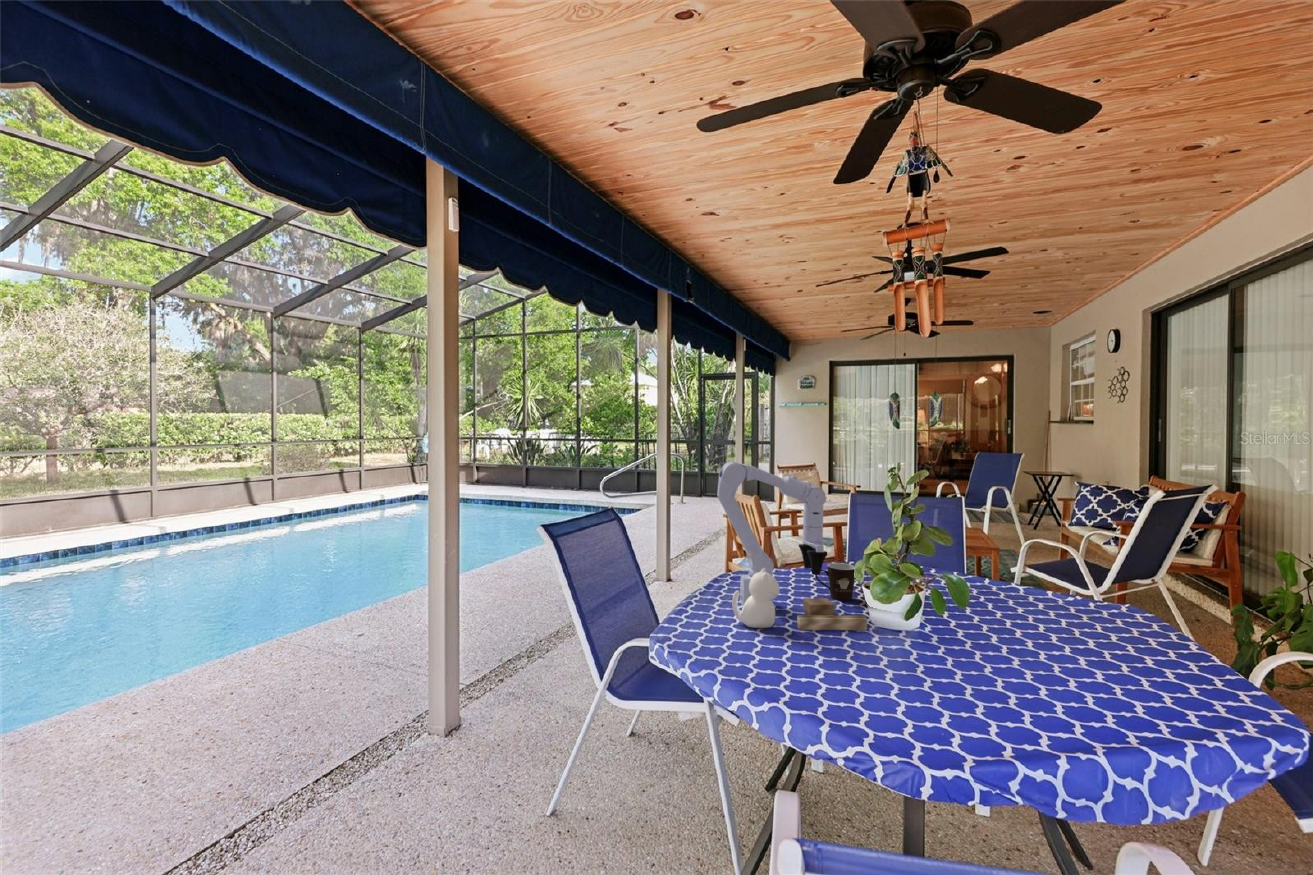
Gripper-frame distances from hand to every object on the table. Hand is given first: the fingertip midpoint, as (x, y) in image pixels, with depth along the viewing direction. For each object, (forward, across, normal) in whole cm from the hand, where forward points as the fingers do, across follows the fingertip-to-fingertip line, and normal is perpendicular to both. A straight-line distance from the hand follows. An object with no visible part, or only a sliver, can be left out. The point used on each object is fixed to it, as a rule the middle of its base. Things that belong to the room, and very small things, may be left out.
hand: (812, 571), depth 176 cm
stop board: (+10, -20, 0) cm, 23 cm away
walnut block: (+11, -8, 0) cm, 14 cm away
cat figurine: (+11, -18, +20) cm, 29 cm away
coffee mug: (+10, +8, -10) cm, 17 cm away
